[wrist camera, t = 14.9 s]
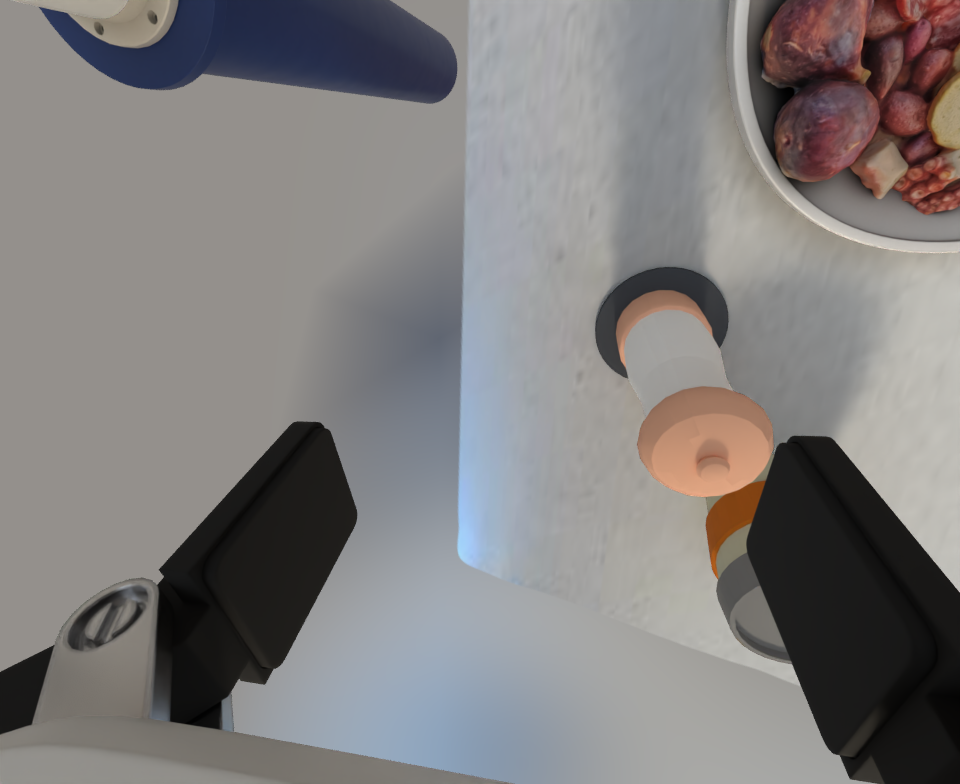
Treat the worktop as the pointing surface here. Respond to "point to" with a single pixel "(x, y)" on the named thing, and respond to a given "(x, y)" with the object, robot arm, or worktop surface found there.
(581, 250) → the worktop surface
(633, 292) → the coaster
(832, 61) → the bowl
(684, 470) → the salt shaker
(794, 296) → the worktop surface
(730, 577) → the reusable coffee cup
